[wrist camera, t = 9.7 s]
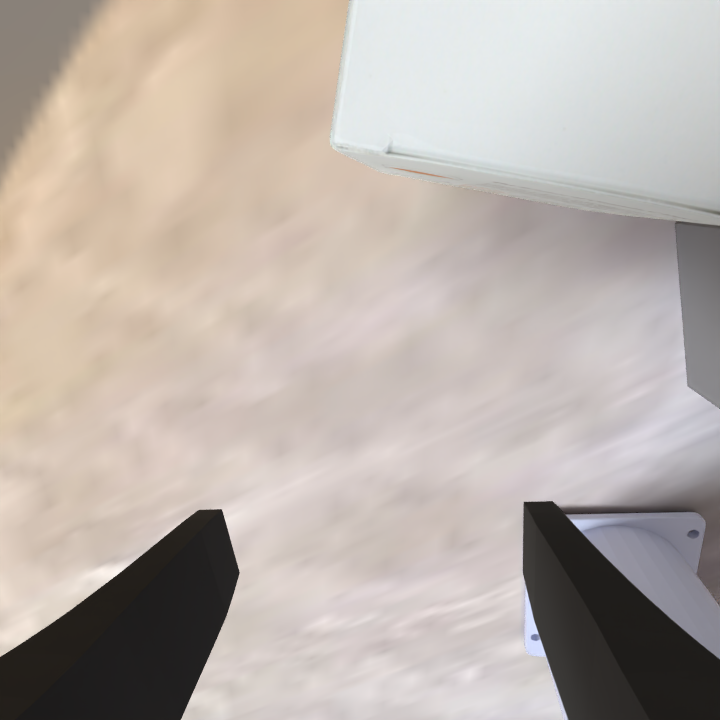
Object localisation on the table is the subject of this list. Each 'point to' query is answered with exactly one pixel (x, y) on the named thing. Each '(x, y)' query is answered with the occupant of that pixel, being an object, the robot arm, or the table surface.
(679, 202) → the small box
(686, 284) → the charcoal base block
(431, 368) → the table surface
